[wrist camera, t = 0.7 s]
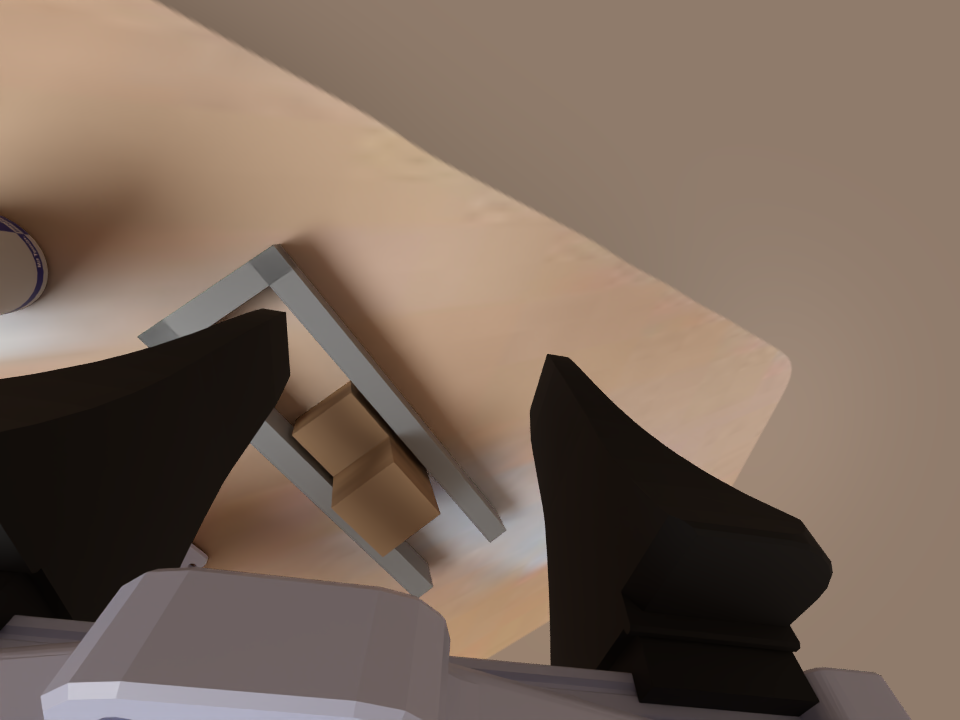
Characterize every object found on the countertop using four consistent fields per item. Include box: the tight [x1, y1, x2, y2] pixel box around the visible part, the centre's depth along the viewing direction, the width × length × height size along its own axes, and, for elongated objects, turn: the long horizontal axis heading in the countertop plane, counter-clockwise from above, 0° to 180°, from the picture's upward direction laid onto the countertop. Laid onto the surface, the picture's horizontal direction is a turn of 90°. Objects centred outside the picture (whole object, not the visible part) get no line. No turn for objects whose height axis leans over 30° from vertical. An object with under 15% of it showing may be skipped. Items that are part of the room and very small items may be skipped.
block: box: [292, 381, 440, 557], centre depth 28 cm, size 4×9×6 cm, turn 33°
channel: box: [138, 244, 506, 598], centre depth 29 cm, size 9×26×2 cm, turn 33°
